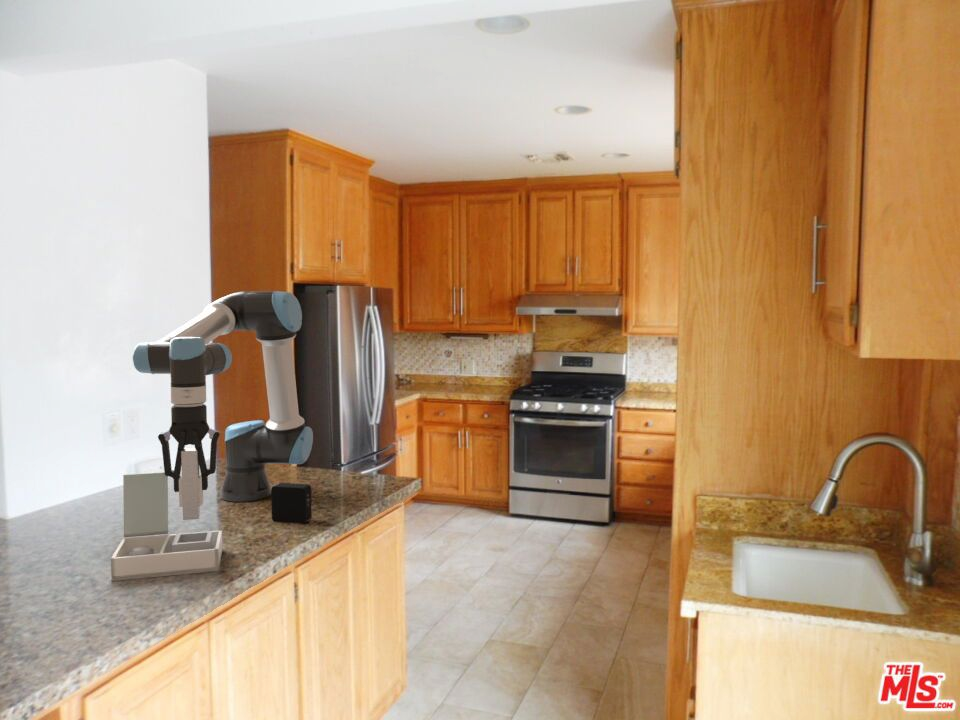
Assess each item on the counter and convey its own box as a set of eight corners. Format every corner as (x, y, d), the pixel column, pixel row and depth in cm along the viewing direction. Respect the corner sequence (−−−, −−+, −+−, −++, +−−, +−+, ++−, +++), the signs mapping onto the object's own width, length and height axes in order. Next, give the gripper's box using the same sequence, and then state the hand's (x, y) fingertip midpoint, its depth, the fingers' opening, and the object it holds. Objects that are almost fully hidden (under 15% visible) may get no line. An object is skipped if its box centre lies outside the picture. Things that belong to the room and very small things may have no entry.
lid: (123, 537, 168) (124, 537, 169) (167, 534, 170) (168, 533, 171) (123, 475, 169) (124, 474, 170) (167, 472, 171) (167, 472, 172)
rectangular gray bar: (184, 515, 167) (182, 448, 165) (200, 514, 168) (198, 447, 166) (183, 520, 163) (181, 451, 162) (198, 519, 164) (197, 450, 163)
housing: (124, 558, 169) (123, 534, 168) (222, 550, 175) (222, 526, 174) (111, 581, 155) (110, 554, 155) (218, 570, 162) (218, 545, 161)
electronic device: (305, 524, 196) (304, 488, 195) (271, 521, 198) (271, 486, 197) (311, 519, 200) (311, 484, 199) (278, 517, 202) (278, 482, 201)
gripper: (147, 407, 158) (150, 511, 159) (226, 405, 162) (228, 506, 164) (152, 403, 165) (155, 502, 166) (227, 401, 169) (229, 497, 171)
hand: (191, 504), depth 165 cm, fingers closed on rectangular gray bar, 3 cm apart
